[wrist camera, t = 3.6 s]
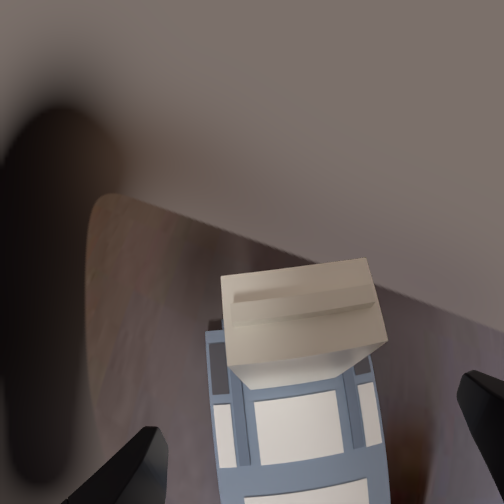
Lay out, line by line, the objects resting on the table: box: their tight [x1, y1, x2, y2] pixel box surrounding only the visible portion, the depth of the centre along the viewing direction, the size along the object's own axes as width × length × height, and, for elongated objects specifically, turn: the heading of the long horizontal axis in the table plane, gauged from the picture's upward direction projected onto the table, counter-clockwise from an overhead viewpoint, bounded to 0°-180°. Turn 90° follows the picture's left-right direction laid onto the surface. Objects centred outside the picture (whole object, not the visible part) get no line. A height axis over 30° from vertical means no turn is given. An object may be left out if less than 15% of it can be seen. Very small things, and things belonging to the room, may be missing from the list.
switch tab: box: [221, 257, 388, 390], centre depth 13 cm, size 3×5×10 cm, turn 96°
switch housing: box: [205, 319, 391, 504], centre depth 14 cm, size 17×10×3 cm, turn 6°
